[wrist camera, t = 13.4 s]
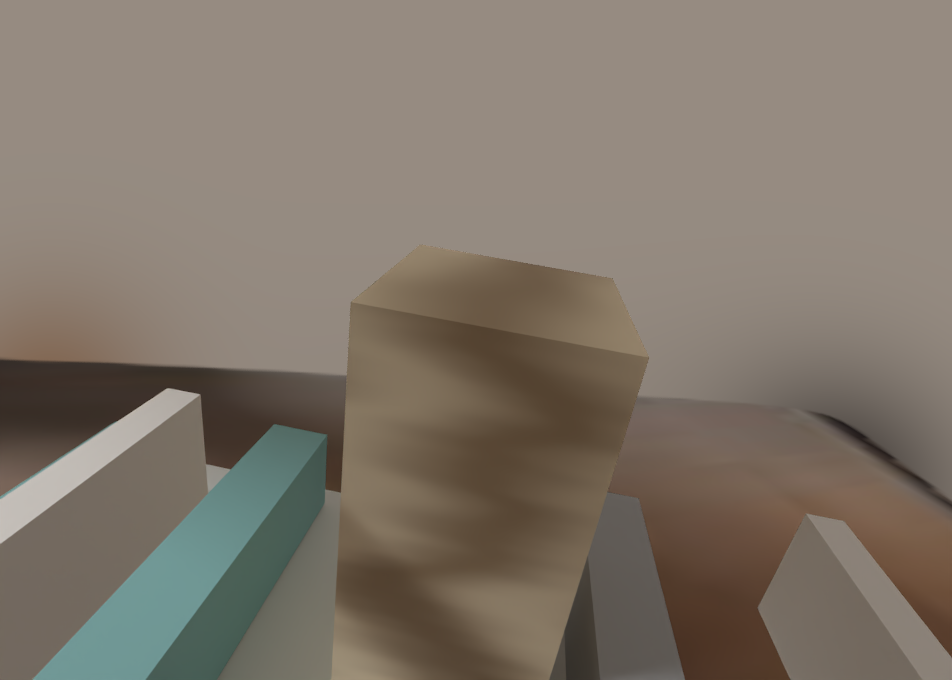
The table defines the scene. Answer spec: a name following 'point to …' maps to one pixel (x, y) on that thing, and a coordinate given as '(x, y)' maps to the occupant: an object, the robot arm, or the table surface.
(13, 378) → the table surface
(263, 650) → the bed
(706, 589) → the table surface
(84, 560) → the robot arm
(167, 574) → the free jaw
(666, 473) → the table surface
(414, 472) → the birch block
